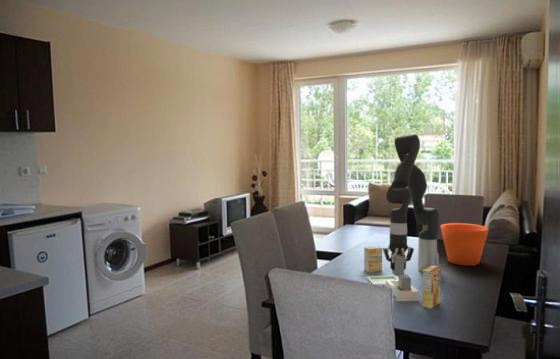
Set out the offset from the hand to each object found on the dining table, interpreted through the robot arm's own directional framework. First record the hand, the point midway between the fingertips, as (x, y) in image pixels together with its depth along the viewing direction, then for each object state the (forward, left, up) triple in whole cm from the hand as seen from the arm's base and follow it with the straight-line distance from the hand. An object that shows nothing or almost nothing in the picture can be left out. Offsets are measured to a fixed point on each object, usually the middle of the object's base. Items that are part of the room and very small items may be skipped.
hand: (398, 269), depth 184 cm
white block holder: (0, +4, -10) cm, 11 cm away
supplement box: (+3, -30, -10) cm, 32 cm away
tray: (+3, -11, -10) cm, 15 cm away
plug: (0, 0, -2) cm, 2 cm away
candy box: (-8, +17, -10) cm, 21 cm away
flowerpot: (-53, -45, -10) cm, 70 cm away
